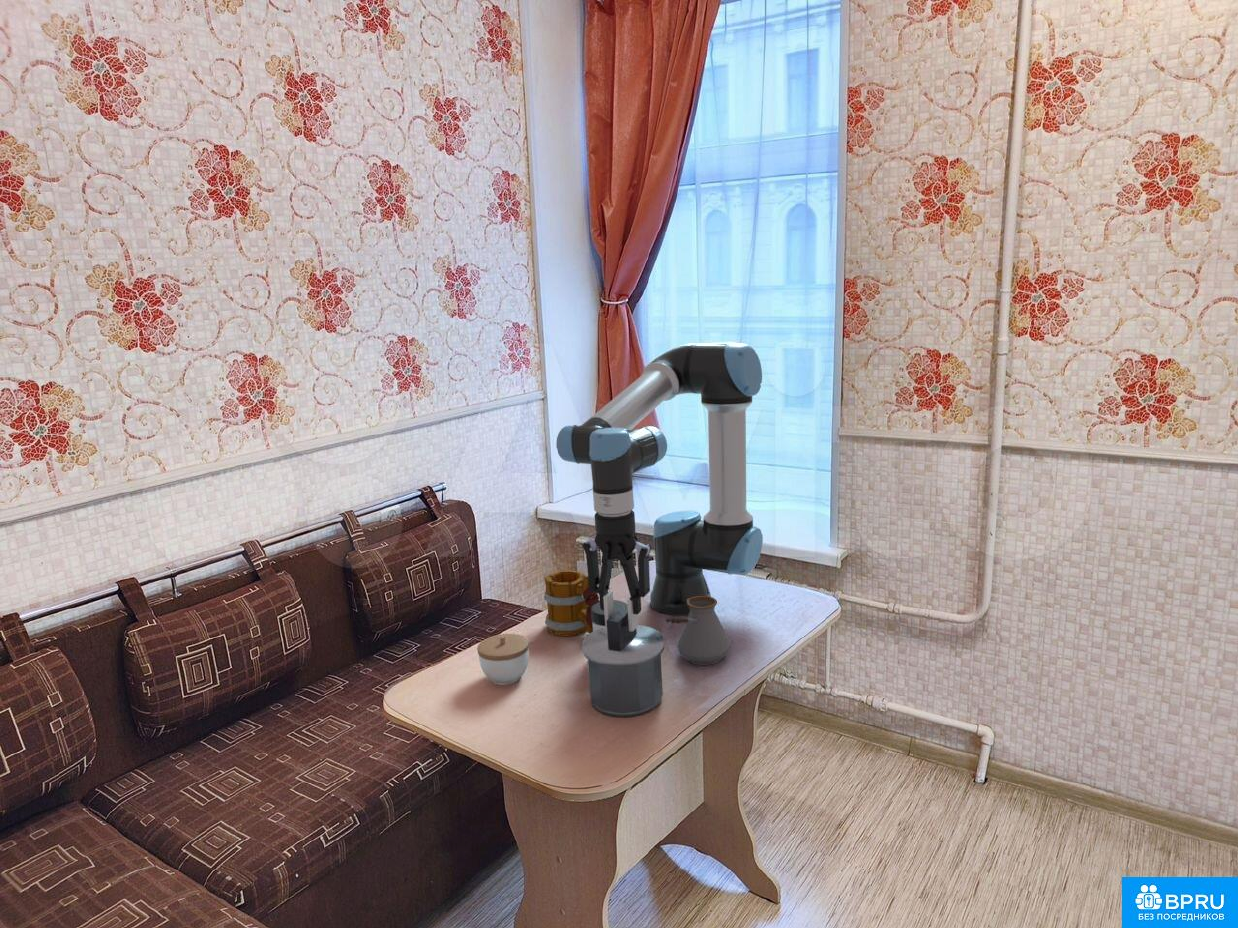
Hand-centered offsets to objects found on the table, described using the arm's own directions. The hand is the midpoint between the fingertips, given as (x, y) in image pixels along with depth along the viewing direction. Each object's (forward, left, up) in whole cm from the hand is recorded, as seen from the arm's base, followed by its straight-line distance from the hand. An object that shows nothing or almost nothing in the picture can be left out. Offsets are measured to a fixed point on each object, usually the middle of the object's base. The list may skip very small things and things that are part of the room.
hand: (621, 626), depth 160 cm
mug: (-10, -34, -16) cm, 39 cm away
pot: (0, -2, -15) cm, 16 cm away
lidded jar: (+14, -24, -16) cm, 32 cm away
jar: (-8, -16, -16) cm, 24 cm away
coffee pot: (-18, -1, -16) cm, 24 cm away
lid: (0, 0, -5) cm, 5 cm away
